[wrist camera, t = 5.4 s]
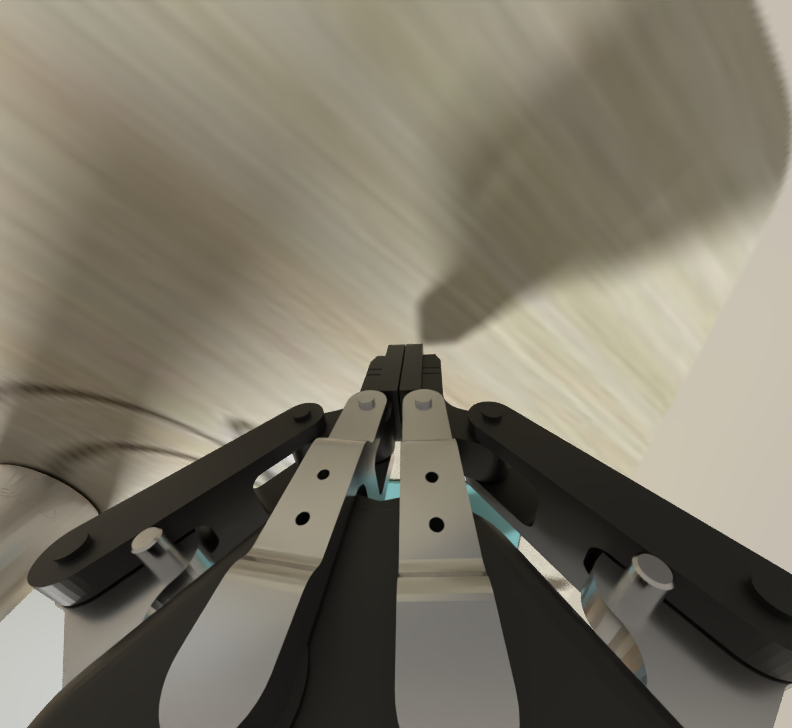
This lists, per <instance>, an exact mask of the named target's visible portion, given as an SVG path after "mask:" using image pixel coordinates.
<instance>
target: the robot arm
mask: <svg viewBox="0 0 792 728" xmlns="http://www.w3.org/2000/svg"><path fill="white" fill-rule="evenodd" d="M395 441H401V450H400V497H399V498H394V499H389V500H385V497H386V492H387V488H388V483H389V479H390V475H391V470H392V466H393V461H394V448H395ZM290 454H293V456H294V459H295V463H294V464H292V465H291V466H289V467H288V468H287V469H285V470H284V471H282V472H281V473H279V474H278V475H276V476H275V477H273V478H272V479H271V480H269V481H268V482H266V483H265V484H263V485H262V486H260V487H258V488H254V489H253V484H254V482H255V480H256V478H257V477H258V476H259V475H260V474H262V473H263V472H265V471H266V470H268V469H269V468H271V467H272V466H274V465H275V464H277V463H278V462H280V461H281V460H283V459H284V458H286V457H287V456H289V455H290ZM464 476H465V477H466V480H467V482H468V484H469V485H470V486H471V487H472V488H473V489H474V490H475V491H476V492H477V493H478V494H479V495H480V496H481V497H482V498H483V499H484V500H485V501H486V502H487V503H488V504H489V505H490V506H491V507H492V508H493V509H494V510H495V511H496V512H497V513H499V514H500V515H501V516H502V517H503V518H504V519H505V520H506V521H507V522H508V523H509V524H510V525H511V526H512V527H513V528H514V529H515V530H516V531H517V532H518V533H519V534H520V535H521V536H522V537H523V538H524V539H526V540H527V541H528V542H529V543H530V544H531V545H532V546H533V547H534V548H535V549H536V550H537V551H538V552H539V553H540V554H541V555H542V556H543V557H544V558H545V559H546V560H547V561H548V562H549V563H550V564H551V565H553V566H554V567H555V568H556V569H557V570H558V571H559V572H560V573H561V574H562V575H563V576H564V577H565V578H566V579H567V580H568V581H569V582H570V583H571V584H572V585H573V586H574V587H575V588H576V589H578V590H579V591H580V592H581V602H582V607H583V611H584V613H585V615H586V618H587V620H588V622H589V624H590V625H591V627H592V628H593V629H592V628H591V627H590V626H589V625H588V624H587V623H586V622H585V621H584V620H583V619H582V617H581V616H579V614H578V613H577V612H576V611H575V610H574V609H573V608H572V607H571V606H570V605H569V604H568V602H567V601H566V600H565V599H564V598H563V597H562V596H561V595H560V594H559V593H558V592H557V591H556V590H555V588H554V587H553V586H552V585H551V584H550V583H549V582H548V581H547V580H546V579H545V578H544V577H543V576H542V575H541V573H540V572H539V571H538V570H537V569H536V568H535V567H534V566H533V565H532V564H531V563H530V562H529V561H528V559H527V558H526V557H525V556H524V555H523V554H522V553H521V552H520V551H519V550H518V549H517V548H516V547H515V546H514V544H513V543H512V542H511V541H510V540H509V539H508V538H507V537H506V536H505V535H504V534H503V533H502V532H501V531H500V530H499V529H497V528H496V527H495V526H494V525H493V524H491V523H490V522H489V521H487V520H486V519H484V518H483V517H481V516H479V515H477V514H475V513H473V512H472V509H471V505H470V500H469V496H468V491H467V487H466V482H465V478H464ZM34 588H35V589H36V590H38V591H39V592H41V593H42V594H44V595H45V596H47V597H48V598H50V599H51V600H53V601H54V602H55V605H56V606H57V607H59V608H60V609H62V610H63V611H64V612H65V625H64V656H63V657H64V659H63V688H62V690H61V691H60V692H59V693H58V694H57V695H56V696H55V697H54V698H53V699H52V700H51V701H50V702H49V703H48V704H47V705H46V707H44V709H43V710H42V711H41V712H40V713H39V714H38V715H37V716H36V718H35V719H34V720H33V721H32V722H31V724H30V725H29V726H28V727H27V728H773V726H774V723H775V720H776V716H777V713H778V710H779V707H780V703H781V700H782V696H783V693H784V691H786V690H788V689H790V688H792V574H790V573H789V572H787V571H785V570H784V569H782V568H780V567H779V566H777V565H775V564H773V563H772V562H770V561H768V560H767V559H765V558H763V557H762V556H760V555H758V554H756V553H755V552H753V551H751V550H750V549H748V548H746V547H745V546H743V545H741V544H739V543H738V542H736V541H734V540H733V539H731V538H729V537H728V536H726V535H724V534H723V533H721V532H719V531H717V530H716V529H714V528H712V527H711V526H709V525H707V524H706V523H704V522H702V521H701V520H699V519H697V518H695V517H694V516H692V515H690V514H689V513H687V512H685V511H684V510H682V509H680V508H678V507H677V506H675V505H673V504H672V503H670V502H668V501H667V500H665V499H663V498H661V497H660V496H658V495H656V494H655V493H653V492H651V491H650V490H648V489H646V488H644V487H643V486H641V485H639V484H638V483H636V482H634V481H633V480H631V479H629V478H628V477H626V476H624V475H622V474H621V473H619V472H617V471H616V470H614V469H612V468H611V467H609V466H607V465H605V464H604V463H602V462H600V461H599V460H597V459H595V458H594V457H592V456H590V455H589V454H587V453H585V452H583V451H582V450H580V449H578V448H577V447H575V446H573V445H572V444H570V443H568V442H566V441H565V440H563V439H561V438H560V437H558V436H556V435H555V434H553V433H551V432H549V431H548V430H546V429H544V428H543V427H541V426H539V425H538V424H536V423H534V422H533V421H531V420H529V419H527V418H526V417H524V416H522V415H521V414H519V413H517V412H516V411H514V410H512V409H510V408H509V407H507V406H505V405H503V404H500V403H497V402H480V403H477V404H475V405H473V406H472V407H471V408H470V409H469V411H467V410H462V409H459V408H456V407H453V406H451V405H450V404H448V403H447V402H446V401H445V399H444V397H443V388H442V375H441V361H440V359H439V358H438V357H437V356H436V355H435V354H429V355H423V344H406V345H389V346H388V349H387V353H386V356H377V357H376V358H375V359H374V360H373V361H371V363H370V365H369V368H368V371H367V374H366V377H365V379H364V382H363V385H362V388H361V391H360V392H358V393H356V394H354V395H353V396H351V397H350V398H349V400H348V401H347V403H346V405H345V407H344V408H343V409H341V410H337V411H332V412H328V413H324V411H323V408H322V407H321V406H320V405H318V404H315V403H304V404H300V405H297V406H295V407H293V408H291V409H289V410H287V411H285V412H284V413H282V414H280V415H278V416H276V417H275V418H273V419H271V420H269V421H267V422H265V423H264V424H262V425H260V426H258V427H256V428H255V429H253V430H251V431H249V432H247V433H246V434H244V435H242V436H240V437H238V438H237V439H235V440H233V441H231V442H229V443H228V444H226V445H224V446H222V447H220V448H219V449H217V450H215V451H213V452H211V453H210V454H208V455H206V456H204V457H202V458H200V459H199V460H197V461H195V462H193V463H191V464H190V465H188V466H186V467H184V468H182V469H181V470H179V471H177V472H175V473H173V474H172V475H170V476H168V477H166V478H164V479H163V480H161V481H159V482H157V483H155V484H154V485H152V486H150V487H148V488H146V489H145V490H143V491H141V492H139V493H137V494H135V495H134V496H132V497H130V498H128V499H126V500H125V501H123V502H121V503H119V504H117V505H116V506H114V507H112V508H110V509H108V510H107V511H105V512H103V513H101V514H98V512H97V511H96V509H95V508H94V507H93V505H92V504H91V503H90V502H89V501H88V500H87V499H85V498H84V497H83V496H82V495H81V494H79V493H78V492H76V491H75V490H74V489H72V488H71V487H69V486H67V485H65V484H64V483H62V482H60V481H58V480H56V479H54V478H52V477H50V476H48V475H46V474H43V473H40V472H37V471H35V470H32V469H28V468H24V467H21V466H15V465H0V622H1V621H2V620H3V619H4V618H5V617H6V616H7V615H8V614H9V613H10V612H11V611H12V610H13V609H14V608H15V607H16V606H17V605H18V604H19V603H20V602H21V601H22V600H23V599H24V598H25V597H26V596H27V595H28V594H29V593H30V592H31V591H32V590H33V589H34Z"/></svg>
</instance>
